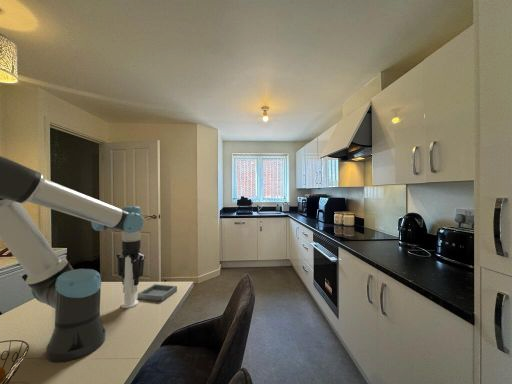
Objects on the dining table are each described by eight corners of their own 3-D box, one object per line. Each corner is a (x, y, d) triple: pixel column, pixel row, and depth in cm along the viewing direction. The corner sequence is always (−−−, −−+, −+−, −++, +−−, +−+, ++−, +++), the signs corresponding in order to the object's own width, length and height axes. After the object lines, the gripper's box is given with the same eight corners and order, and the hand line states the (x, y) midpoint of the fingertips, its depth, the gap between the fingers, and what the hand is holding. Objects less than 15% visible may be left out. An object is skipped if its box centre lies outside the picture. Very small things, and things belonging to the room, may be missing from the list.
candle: (133, 308, 101) (134, 250, 101) (117, 308, 101) (118, 250, 102) (141, 301, 108) (142, 247, 108) (126, 300, 108) (127, 247, 109)
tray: (161, 301, 107) (162, 296, 107) (137, 299, 110) (137, 293, 110) (176, 291, 120) (177, 286, 120) (154, 288, 122) (154, 284, 123)
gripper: (152, 239, 107) (151, 290, 106) (122, 238, 110) (120, 287, 110) (141, 242, 100) (140, 297, 99) (109, 240, 103) (107, 293, 102)
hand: (130, 291), depth 104 cm, fingers closed on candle, 3 cm apart
